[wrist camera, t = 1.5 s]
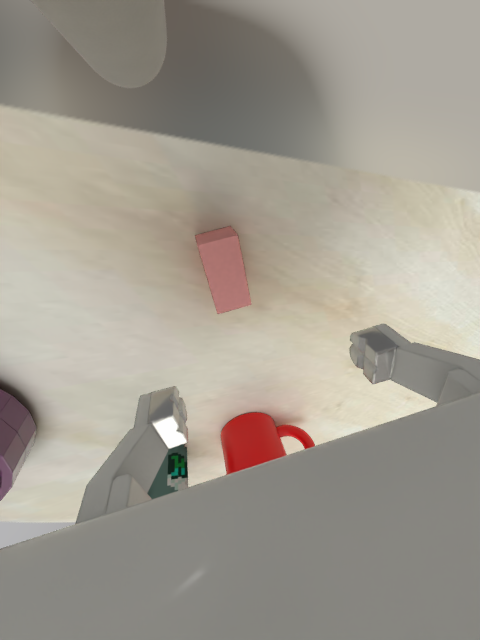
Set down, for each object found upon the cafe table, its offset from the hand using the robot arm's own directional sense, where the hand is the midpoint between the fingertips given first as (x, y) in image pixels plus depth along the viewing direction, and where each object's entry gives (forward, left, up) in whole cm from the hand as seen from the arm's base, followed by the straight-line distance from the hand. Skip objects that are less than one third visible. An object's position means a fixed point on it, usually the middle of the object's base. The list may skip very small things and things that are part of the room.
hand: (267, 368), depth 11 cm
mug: (+25, 0, -13) cm, 28 cm away
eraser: (0, 0, -13) cm, 13 cm away
